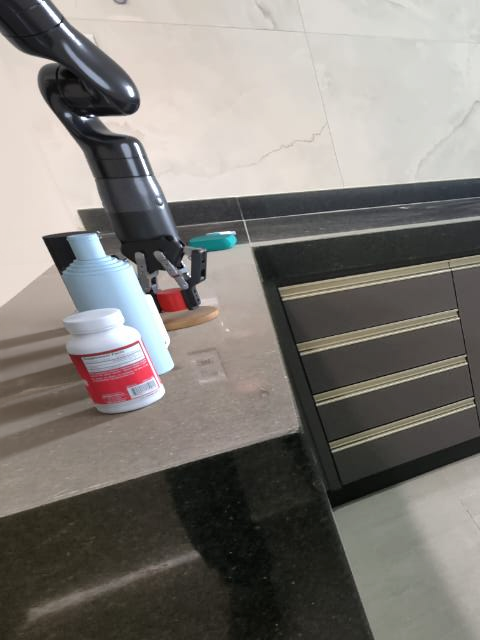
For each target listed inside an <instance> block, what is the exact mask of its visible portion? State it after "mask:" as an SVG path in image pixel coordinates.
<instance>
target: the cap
mask: <svg viewBox="0 0 480 640" xmlns="http://www.w3.org/2000/svg"><path fill="white" fill-rule="evenodd" d="M161 290H162V289H161ZM181 290H182V288H181V287H173V288H166V289H163V290H162V291H159V292H157V293H156V296H157V299H158V302H159V304H160V307H161V309H162V310H163V312H176V311H182V310H185V309H188V308H187V306H186V303H185V300H184V298H183V295H182V293H181Z"/></svg>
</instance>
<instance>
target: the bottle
mask: <svg viewBox="0 0 480 640" xmlns="http://www.w3.org/2000/svg"><path fill="white" fill-rule="evenodd" d="M67 240H68V241H69V244H70V246H71V248H72V250H73V252H74V254H75V256H76V260H74V261H73V262H74V263H71V264H70V266H69V267H67V268H66V270H65V271H63V272H62V273H63V275H62V278H61V280H62V279H63V280H62V282H63V281H64V282H63V283H65V284H64V286H65V285H66V286H65V288H66V287H67V288H66V290H67V289H68V290H67V292H68V291H69V292H68V294H69V293H70V294H69V296H70V295H71V296H70V298H71V297H72V298H71V300H72V299H73V300H72V302H73V301H74V302H73V304H74V303H75V304H74V306H75V305H76V306H75V308H76V307H77V308H76V309H78V311H79V313H81V312H85V311H90V310H96V309H105V308H116V309H119V310H120V312H121V314H122V316H123V318H124V323H123V325H124V326H128V327H131V328H134V329H135V330H137V331H138V332H139V334H140V336H141V338H142V340H143V342H144V345H145V347H146V349H147V351H148V354H149V356H150V358H151V360H152V362H153V365H154V367H155V369H156V371H157V373H158V376H159V377H160V376H161V375H164V374H166V373H168V372H169V371H171V370H173V368H174V367H175V363H174V361H173V359H172V356H171V354H170V352H169V350H168V347H166V344H165V342H164V340H163V337H162V335H161V333H160V330H159V328H158V326H157V323H156V321H155V319H154V316H153V314H152V312H151V309H150V307H149V305H148V302H147V300H146V298H145V295H146V294H145V292H143V291H142V288H141V286H140V284H139V281H138V279H137V277H136V274H135V272H136V271H135V270H134V267H133V265H131V264H130V263H128V262H123V261H122V260H117V258H113V257H111V256H109V255H110V254H106V252H105V250H104V248H103V246H102V243H101V241H100V237H99V236H98V234H97V233H94V232H93V233H87V234H78V235H71V236H68V237H67ZM134 271H135V272H134Z"/></svg>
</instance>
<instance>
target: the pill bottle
mask: <svg viewBox="0 0 480 640" xmlns="http://www.w3.org/2000/svg"><path fill="white" fill-rule="evenodd" d="M70 315H71V314H70ZM70 315H68V316H66V317H64V318H63V319H62V323H63V325H64V328H65V329H66V331H67V332H68V334H69V335H70V334H71V335H72V337H70V338H69V339H68V340H67V341H66V343H65V350H66V352H67V354H68V356H69V359H70V360H71V361H72V364H73V365H74V367H75V369H76V372H77V373H78V375H79V378H80V379H81V381H82V383H83V385H84V387H85V388H86V389H85V390H86V391H87V393H88V394H89V396H90V399H91V400H92V402H93V404H94V406H95V407H96V409H97V410H98V411H99V412H100V413H102V414H121V413H122V414H123V413H128V412H131V411H135V410H139V409H142V408H145V407H147V406H148V407H149V406H150V405H152V404H154V403H155V402H158V401H159V400H160V399H162V398H163V396H164V395H165V393H166V390H165V386H164V385H163V382H162V380H161V378H160V375H159V376H158V373H157V371H156V369H155V367H154V365H153V362H152V360H151V358H150V356H149V354H148V351H147V349H146V347H145V345H144V342H143V340H142V338H141V336H140V334H139V332H138V331H137V330H135V329H134V328H131V327H128V326H124V325H123V323H124V318H123V316H122V314H121V312H120V310H119V309H116V308H105V309H96V310H90V311H85V312H81V313H77V314H74V315H71V316H70Z"/></svg>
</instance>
